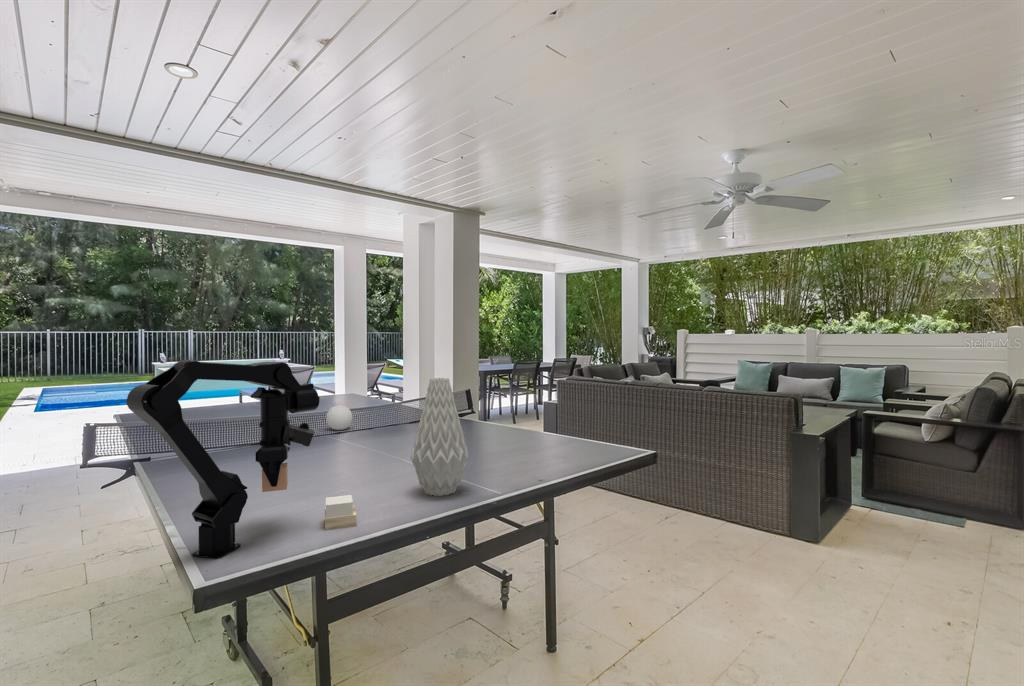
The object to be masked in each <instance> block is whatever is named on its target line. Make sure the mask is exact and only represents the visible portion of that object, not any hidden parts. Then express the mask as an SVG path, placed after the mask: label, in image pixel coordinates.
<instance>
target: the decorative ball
mask: <svg viewBox="0 0 1024 686" xmlns="http://www.w3.org/2000/svg"><path fill="white" fill-rule="evenodd" d="M352 422H353V413H352V410H351V409H350V408H349V407H348V406H346V405H339V404H338V405H335V406H332V407H330V408H329V410H328V411H327V413H326V423H327V425H328V426H329V427H330V428H331V429H332V430H336V431H343V430H345V429H348V428H349V427H350V425H351V424H352Z"/></svg>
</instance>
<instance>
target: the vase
mask: <svg viewBox="0 0 1024 686" xmlns="http://www.w3.org/2000/svg"><path fill="white" fill-rule="evenodd" d="M428 383H429V384H428V387H427V388H426V390H427V391H426V395H425V399H424V400H425V401H424V404H423V407H422V408H423V409H422V411H421V416H420V420H419V424H418V427H417V430H416V437H415V440H414V444H413V448H412V450H411V455H410V460H411V463H412V465H413V466H414V469H415V473H416V476H417V479H418V482H419V484H420V486H422V488H423V491H424V493H425V494H426V495H428V494H429V495H428V496H432V495H434V497H436V496H437V497H442V496H443V495H444V496H448V495H449V494H450V495H453V494H454V493H455V491H456V492H457V489H458V485H459V484H460V483H461V481H462V477H463V474H464V472H465V471H464V470H465V467H466V464H467V462H468V460H469V455H470V454H469V451H468V448H467V447H468V446H467V442H466V439H465V435H464V431H463V427H462V424H461V420H460V417H459V412H458V409H457V407H456V406H457V405H456V403H455V397H454V392H453V390H452V386H451V382H450V378H448V377H434V378H433V377H432V378H429V382H428ZM452 493H453V494H452ZM444 496H443V497H444Z"/></svg>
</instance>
